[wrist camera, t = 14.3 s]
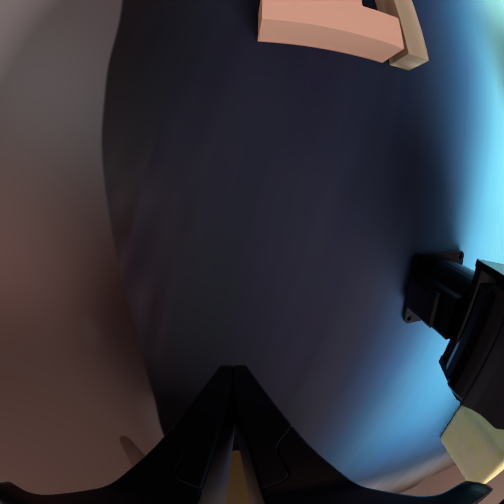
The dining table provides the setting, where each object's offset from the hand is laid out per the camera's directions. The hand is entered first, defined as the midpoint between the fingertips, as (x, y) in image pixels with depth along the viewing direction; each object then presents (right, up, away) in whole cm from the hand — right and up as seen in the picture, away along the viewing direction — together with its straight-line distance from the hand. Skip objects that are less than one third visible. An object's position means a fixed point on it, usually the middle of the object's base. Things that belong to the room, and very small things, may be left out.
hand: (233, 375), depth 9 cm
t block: (+6, +24, +6) cm, 26 cm away
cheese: (+44, -23, +22) cm, 54 cm away
